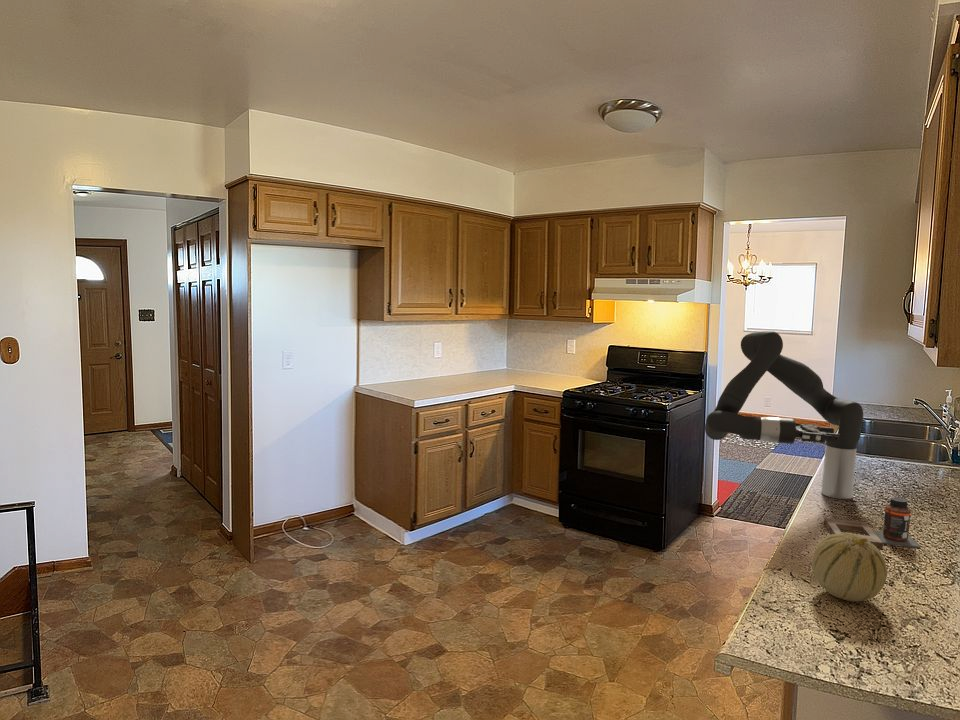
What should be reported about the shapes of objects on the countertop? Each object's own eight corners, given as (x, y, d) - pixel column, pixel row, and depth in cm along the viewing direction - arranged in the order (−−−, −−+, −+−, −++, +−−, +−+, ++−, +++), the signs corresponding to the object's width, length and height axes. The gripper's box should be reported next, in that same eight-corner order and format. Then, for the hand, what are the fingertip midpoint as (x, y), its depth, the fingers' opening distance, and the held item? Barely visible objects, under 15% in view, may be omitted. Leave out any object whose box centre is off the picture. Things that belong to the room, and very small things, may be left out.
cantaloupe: (816, 576, 153) (822, 517, 151) (887, 595, 144) (894, 533, 142) (802, 598, 142) (807, 534, 140) (878, 621, 133) (885, 553, 131)
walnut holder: (824, 522, 190) (824, 517, 189) (865, 527, 187) (865, 522, 186) (837, 542, 174) (838, 537, 174) (882, 548, 171) (883, 542, 171)
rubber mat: (872, 532, 183) (872, 530, 183) (908, 536, 180) (908, 534, 180) (882, 543, 174) (882, 542, 174) (920, 548, 172) (920, 546, 172)
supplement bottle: (911, 543, 174) (916, 503, 173) (888, 541, 175) (892, 501, 174) (902, 535, 180) (906, 496, 178) (879, 533, 181) (882, 495, 180)
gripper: (781, 422, 180) (844, 427, 175) (773, 413, 193) (832, 417, 189) (779, 447, 181) (842, 453, 176) (771, 437, 194) (830, 441, 190)
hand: (837, 434), depth 183 cm, fingers open, 8 cm apart
